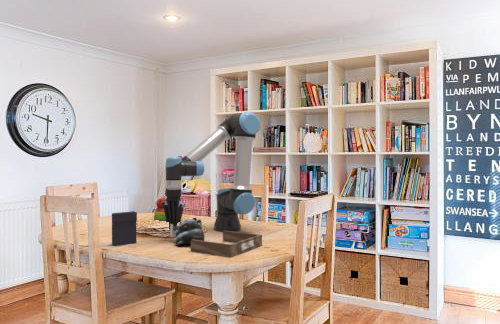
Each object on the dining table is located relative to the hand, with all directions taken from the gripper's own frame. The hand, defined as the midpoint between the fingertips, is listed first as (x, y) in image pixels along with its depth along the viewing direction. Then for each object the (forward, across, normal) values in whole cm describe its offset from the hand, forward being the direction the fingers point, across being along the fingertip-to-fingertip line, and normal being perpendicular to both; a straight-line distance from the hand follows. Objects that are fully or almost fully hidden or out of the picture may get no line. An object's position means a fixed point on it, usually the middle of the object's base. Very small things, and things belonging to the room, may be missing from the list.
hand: (173, 236), depth 216 cm
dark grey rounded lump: (+2, +11, -2) cm, 11 cm away
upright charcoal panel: (+2, -15, -18) cm, 23 cm away
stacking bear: (+2, -25, +20) cm, 32 cm away
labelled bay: (+2, +31, 0) cm, 31 cm away
